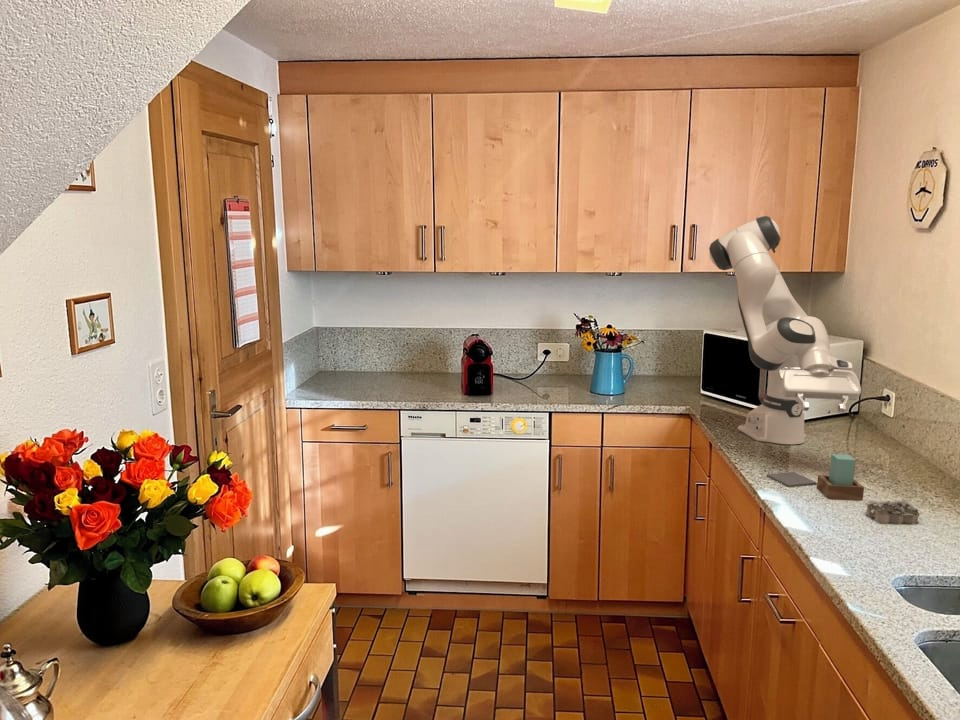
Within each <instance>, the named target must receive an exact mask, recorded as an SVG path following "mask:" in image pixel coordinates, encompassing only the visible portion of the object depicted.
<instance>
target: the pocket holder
mask: <svg viewBox="0 0 960 720" xmlns="http://www.w3.org/2000/svg"><path fill="white" fill-rule="evenodd" d="M828 480H829V474H828V475H827V474H817V485H816V488H817V489H818V490H819V491H820V493H821V494H823V496H825V497H826V498H827V499H828V500H840V501H841V500H842V501H843V500H844V501H845V500H846V501H858V500H863V501H864V490H865V487H864V486H863V485H862V484H861V483H860V482H858V481H857V480H856V479H855V478H854V479H853V486H850V485H832V484H831V483H830V482H829V481H828Z"/></svg>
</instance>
